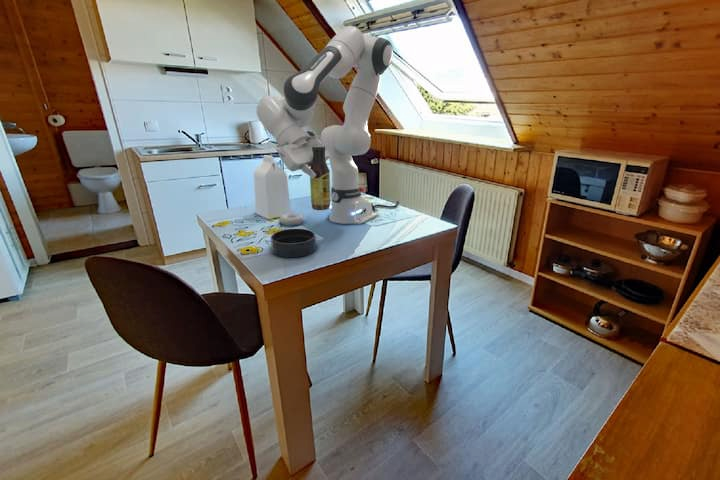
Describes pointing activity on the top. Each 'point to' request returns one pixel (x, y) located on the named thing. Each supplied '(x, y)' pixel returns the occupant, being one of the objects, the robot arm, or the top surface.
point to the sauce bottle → (320, 180)
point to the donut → (291, 219)
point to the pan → (293, 242)
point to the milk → (271, 189)
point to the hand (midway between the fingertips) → (321, 174)
